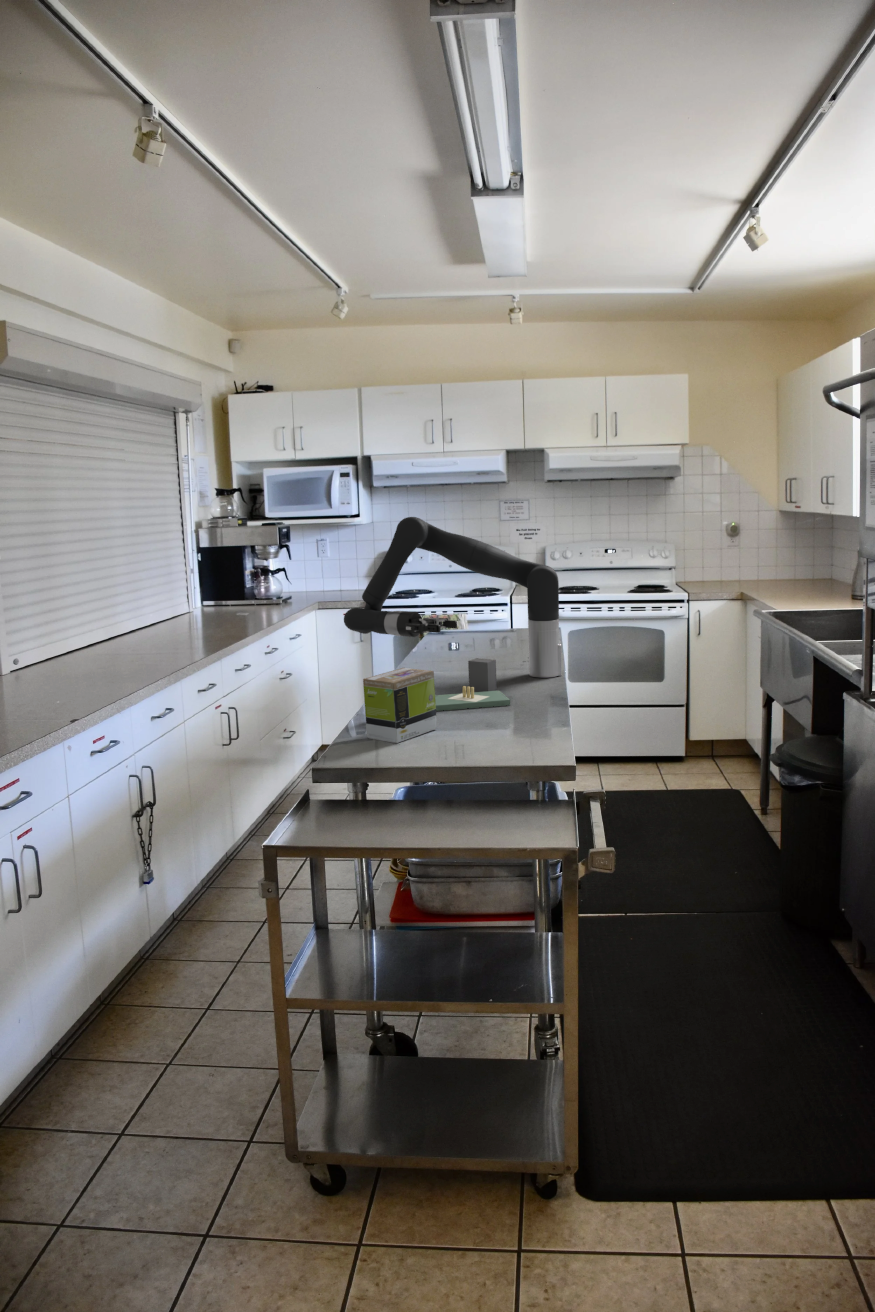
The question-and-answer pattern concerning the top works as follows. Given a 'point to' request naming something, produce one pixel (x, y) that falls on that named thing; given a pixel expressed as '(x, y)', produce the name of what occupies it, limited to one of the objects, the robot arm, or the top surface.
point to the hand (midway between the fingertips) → (448, 626)
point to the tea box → (400, 704)
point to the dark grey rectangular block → (482, 675)
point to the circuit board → (470, 700)
